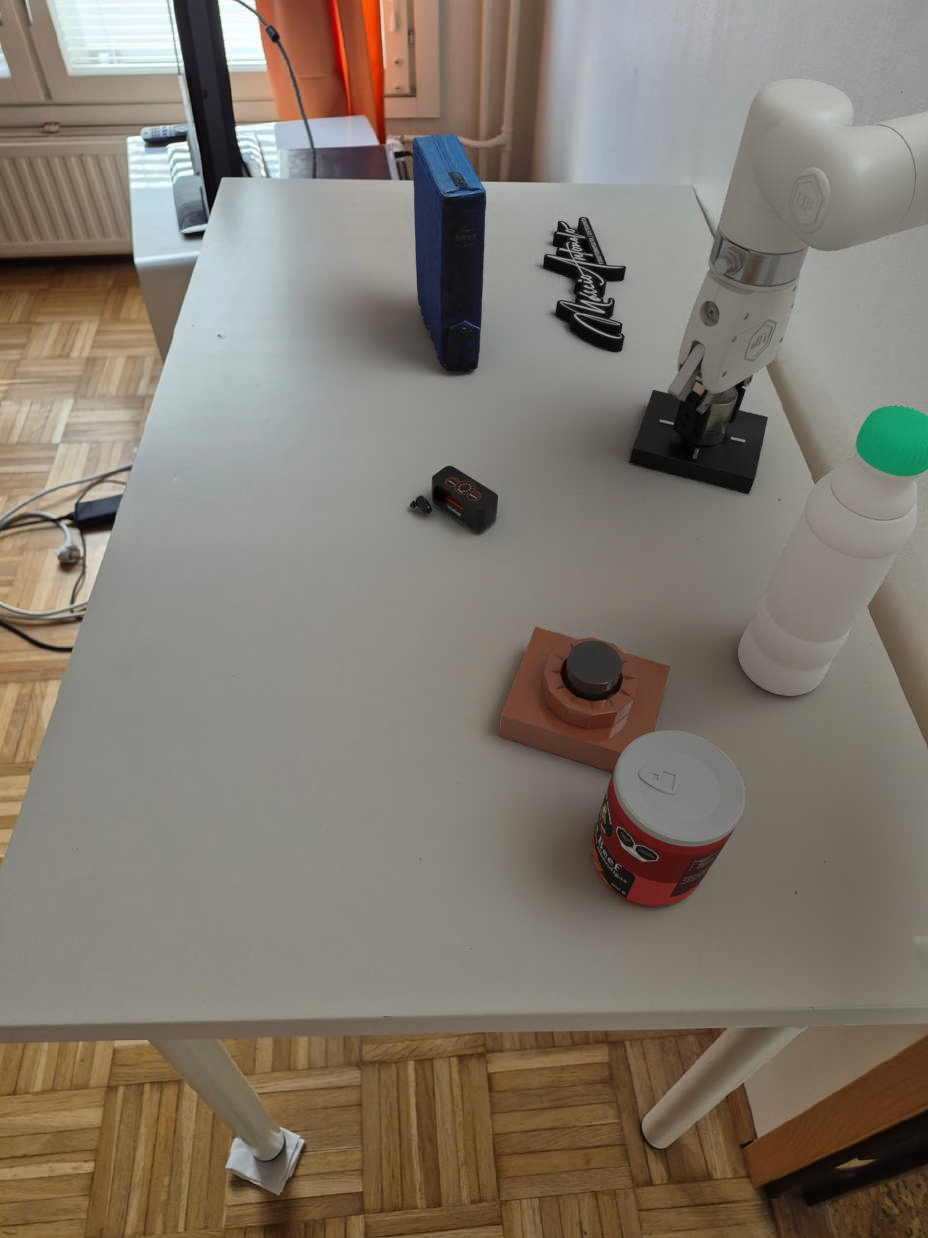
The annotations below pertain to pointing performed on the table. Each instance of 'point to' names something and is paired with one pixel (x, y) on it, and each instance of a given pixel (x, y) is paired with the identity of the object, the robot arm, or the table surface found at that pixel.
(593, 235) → the nameplate
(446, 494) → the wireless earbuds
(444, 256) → the book
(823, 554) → the water bottle
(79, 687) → the table surface
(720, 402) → the dial
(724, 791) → the canned food
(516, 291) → the table surface
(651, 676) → the push button box
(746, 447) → the panel
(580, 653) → the button
